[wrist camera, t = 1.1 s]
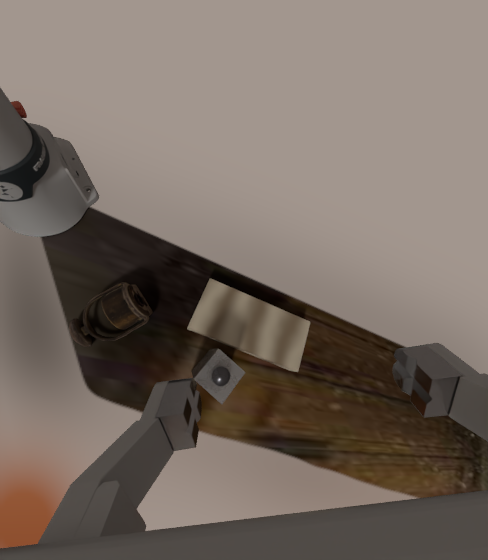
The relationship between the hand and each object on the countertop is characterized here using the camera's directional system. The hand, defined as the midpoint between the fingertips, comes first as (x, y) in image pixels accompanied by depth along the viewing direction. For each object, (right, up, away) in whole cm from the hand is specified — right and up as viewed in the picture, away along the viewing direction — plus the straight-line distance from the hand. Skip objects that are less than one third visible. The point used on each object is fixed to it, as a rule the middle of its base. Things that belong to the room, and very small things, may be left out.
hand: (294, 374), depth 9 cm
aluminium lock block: (-8, -13, +33) cm, 36 cm away
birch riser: (-1, -6, +37) cm, 37 cm away
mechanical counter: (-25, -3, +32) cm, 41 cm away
